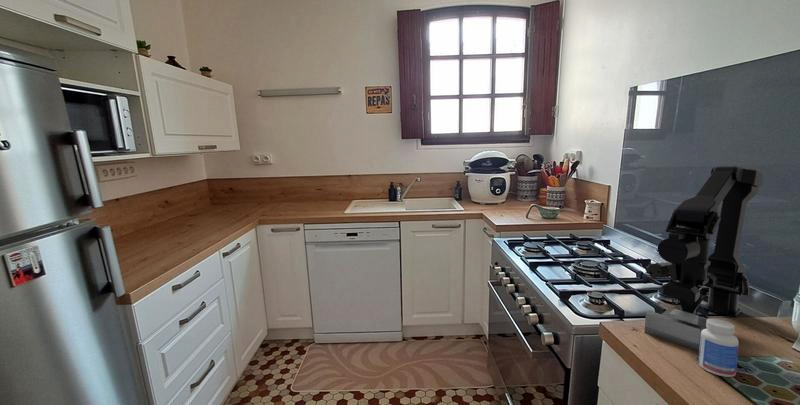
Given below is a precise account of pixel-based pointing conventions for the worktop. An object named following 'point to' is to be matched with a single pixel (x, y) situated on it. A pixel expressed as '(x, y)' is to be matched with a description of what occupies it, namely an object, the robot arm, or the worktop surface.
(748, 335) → the worktop surface
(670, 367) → the worktop surface
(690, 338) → the gauge base
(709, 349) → the pill bottle
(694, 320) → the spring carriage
